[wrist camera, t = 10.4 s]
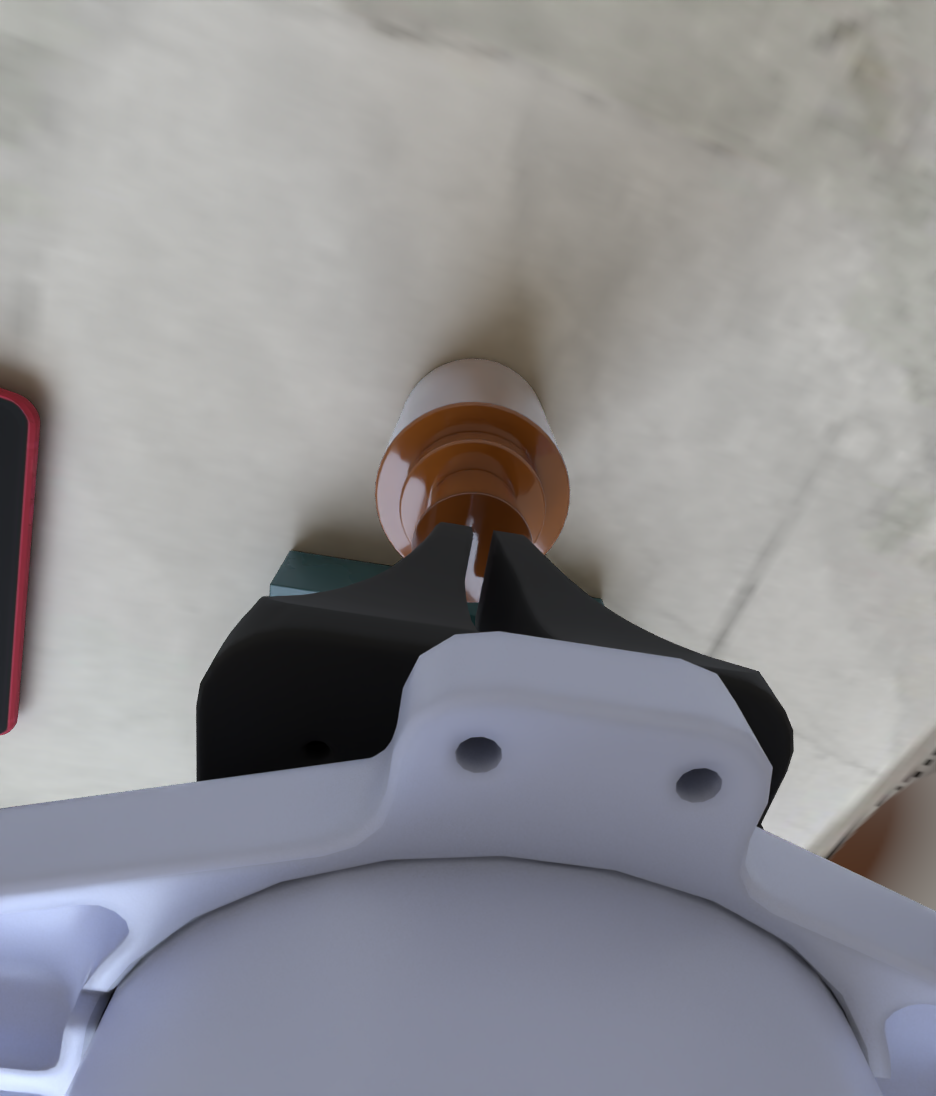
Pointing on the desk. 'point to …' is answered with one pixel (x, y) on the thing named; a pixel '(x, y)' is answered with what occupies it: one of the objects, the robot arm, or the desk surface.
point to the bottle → (472, 464)
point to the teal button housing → (328, 575)
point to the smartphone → (15, 540)
